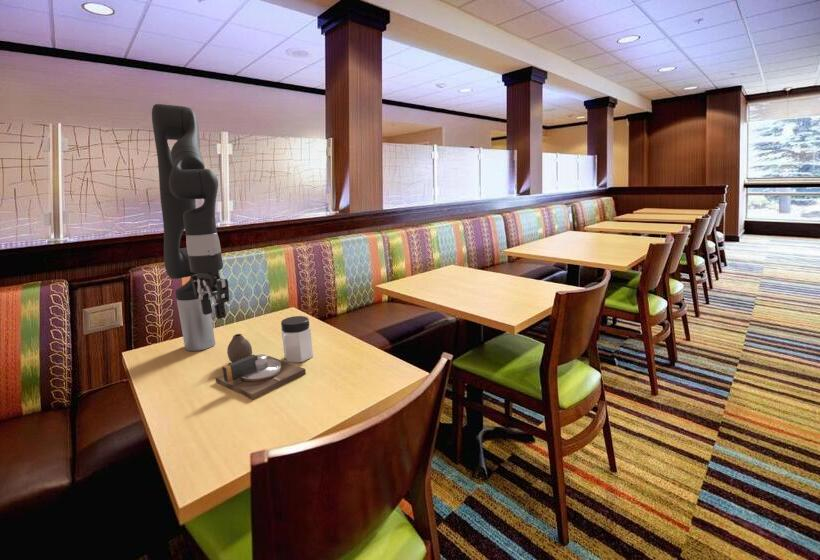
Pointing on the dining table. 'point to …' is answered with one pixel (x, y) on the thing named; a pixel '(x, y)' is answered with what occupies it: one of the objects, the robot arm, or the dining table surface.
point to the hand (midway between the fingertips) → (214, 315)
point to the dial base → (262, 387)
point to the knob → (252, 369)
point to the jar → (296, 339)
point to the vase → (238, 348)
